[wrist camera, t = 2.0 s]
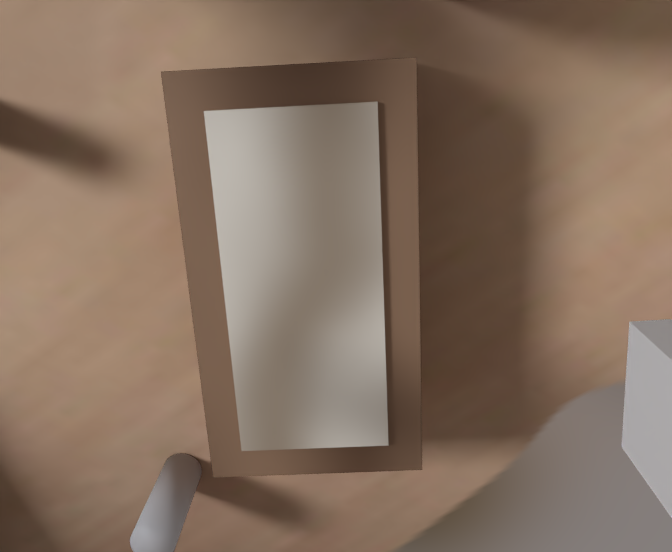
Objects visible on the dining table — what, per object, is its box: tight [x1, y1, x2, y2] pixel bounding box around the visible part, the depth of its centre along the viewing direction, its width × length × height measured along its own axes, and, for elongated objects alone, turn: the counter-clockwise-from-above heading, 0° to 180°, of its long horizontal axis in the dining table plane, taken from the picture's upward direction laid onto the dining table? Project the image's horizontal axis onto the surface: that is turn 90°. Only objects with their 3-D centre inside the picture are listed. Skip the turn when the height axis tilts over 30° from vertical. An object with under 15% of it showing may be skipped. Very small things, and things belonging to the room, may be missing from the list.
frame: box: [161, 58, 422, 477], centre depth 22 cm, size 7×13×5 cm, turn 3°
